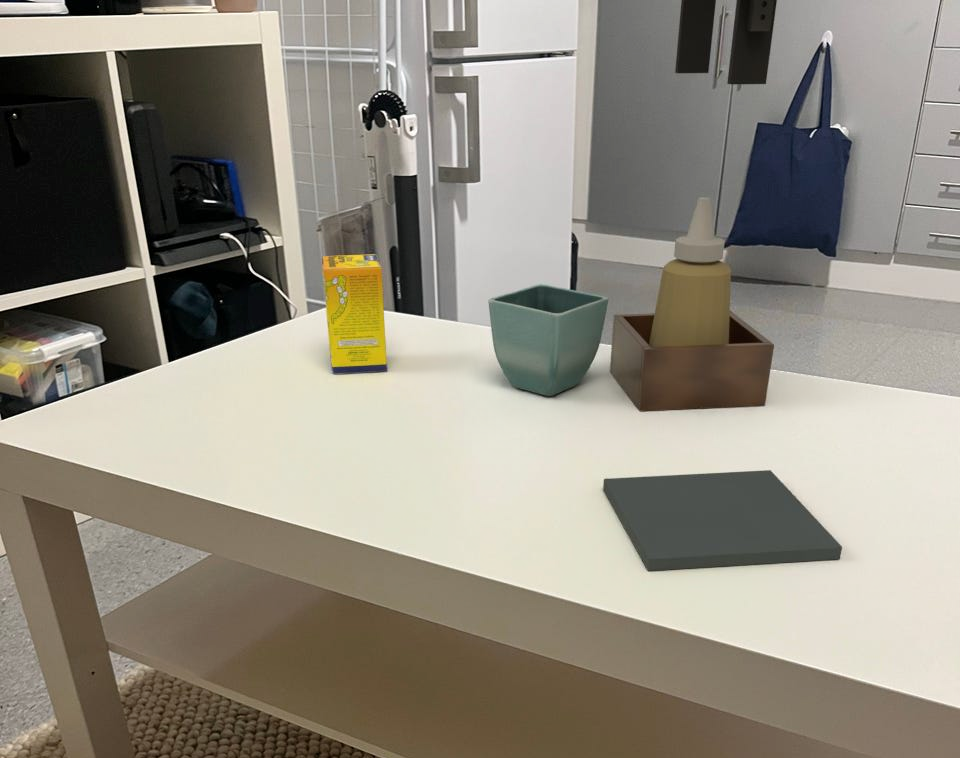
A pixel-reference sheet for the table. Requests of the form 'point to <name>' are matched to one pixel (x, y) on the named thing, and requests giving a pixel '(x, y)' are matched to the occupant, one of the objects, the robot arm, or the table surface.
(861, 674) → the table surface
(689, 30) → the robot arm
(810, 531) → the mat
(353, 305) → the supplement box
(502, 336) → the flower pot
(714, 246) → the squeeze bottle
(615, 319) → the box
